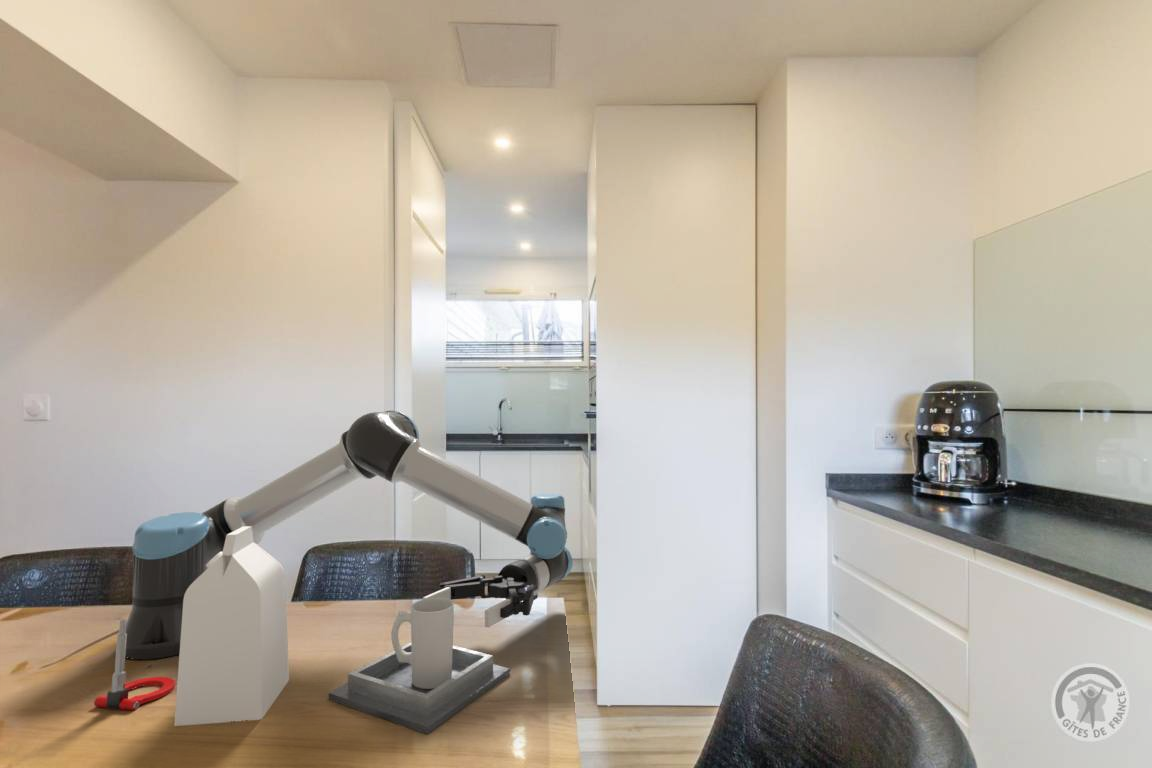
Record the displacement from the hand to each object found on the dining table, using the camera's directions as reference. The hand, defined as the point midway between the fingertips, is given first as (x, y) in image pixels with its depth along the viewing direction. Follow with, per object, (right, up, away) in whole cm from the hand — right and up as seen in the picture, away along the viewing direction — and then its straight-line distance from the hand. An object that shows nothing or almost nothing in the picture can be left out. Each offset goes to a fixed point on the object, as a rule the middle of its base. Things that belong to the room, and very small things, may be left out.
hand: (454, 612), depth 100 cm
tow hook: (-47, -10, -9) cm, 49 cm away
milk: (-31, -10, -11) cm, 34 cm away
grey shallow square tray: (-4, -10, -6) cm, 12 cm away
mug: (-4, -9, -6) cm, 11 cm away
